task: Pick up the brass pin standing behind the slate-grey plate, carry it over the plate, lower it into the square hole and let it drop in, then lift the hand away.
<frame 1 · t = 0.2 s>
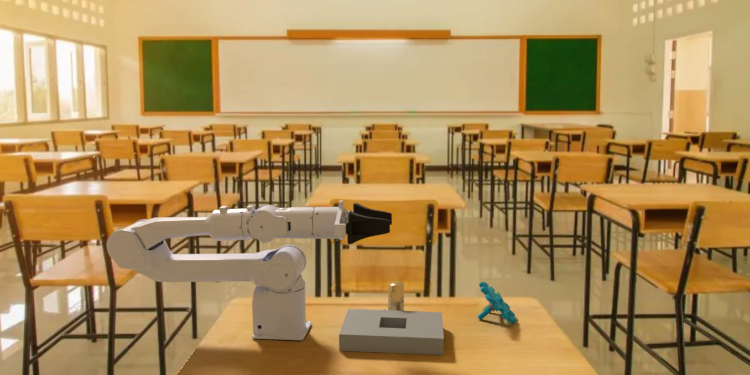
hand: (390, 222, 105), 21 cm above the table, tool horizontal, fingers open, 7 cm apart
hole plate: (392, 338, 107), on the table
brass pin: (395, 317, 117), on the table
teal knobby piece: (496, 320, 116), on the table
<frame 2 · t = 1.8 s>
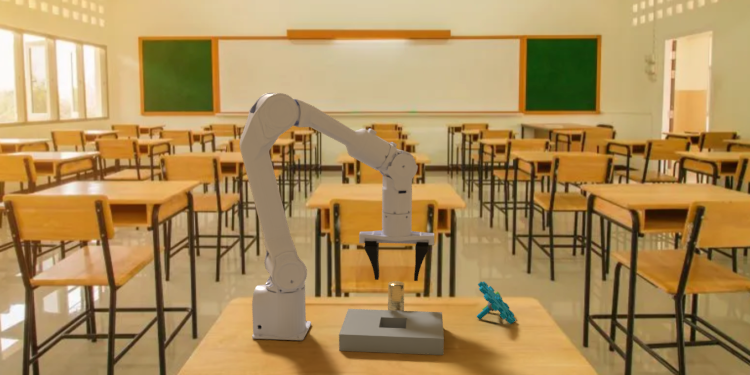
hand: (396, 278, 116), 8 cm above the table, tool pointing down, fingers open, 7 cm apart
nothing on the table moved.
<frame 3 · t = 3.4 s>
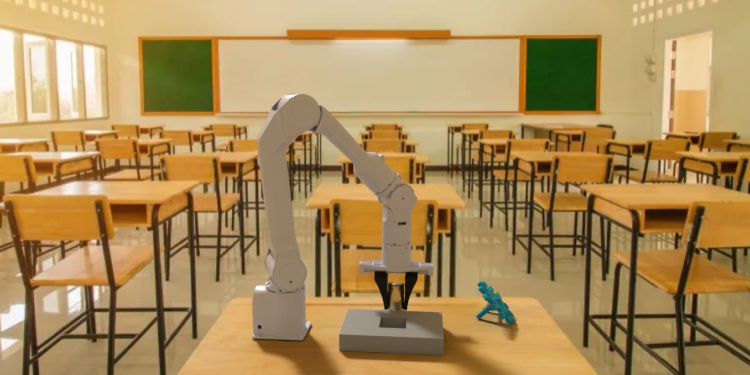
hand: (395, 308, 117), 2 cm above the table, tool pointing down, fingers closed on brass pin, 3 cm apart
brass pin: (395, 317, 117), on the table, touching gripper
everything else where it was.
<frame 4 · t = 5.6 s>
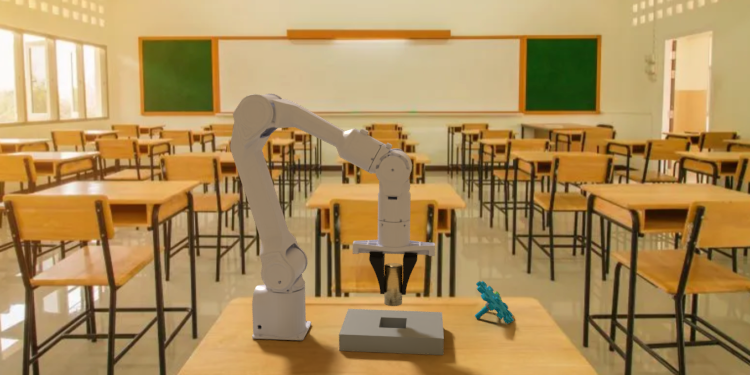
hand: (393, 292, 106), 9 cm above the table, tool pointing down, fingers closed on brass pin, 3 cm apart
brass pin: (393, 303, 106), point 7 cm above the table, touching gripper
everything else where it was.
when the fingers open (4 cm above the table, at t = 7.7 s): brass pin drops 2 cm, resting in hole plate.
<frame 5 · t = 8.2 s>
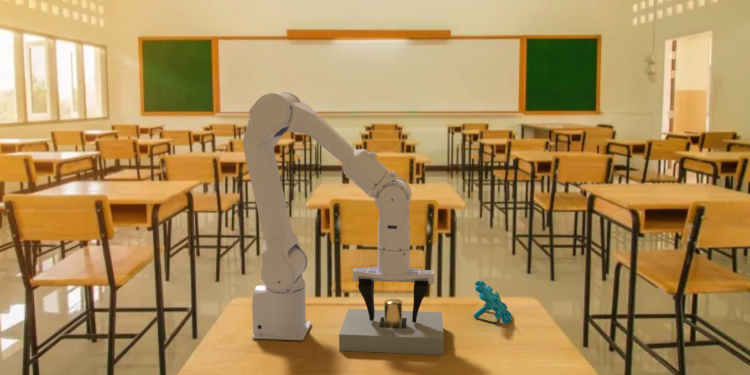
hand: (393, 319, 107), 4 cm above the table, tool pointing down, fingers open, 7 cm apart
brass pin: (392, 338, 107), resting in hole plate
everything else where it was.
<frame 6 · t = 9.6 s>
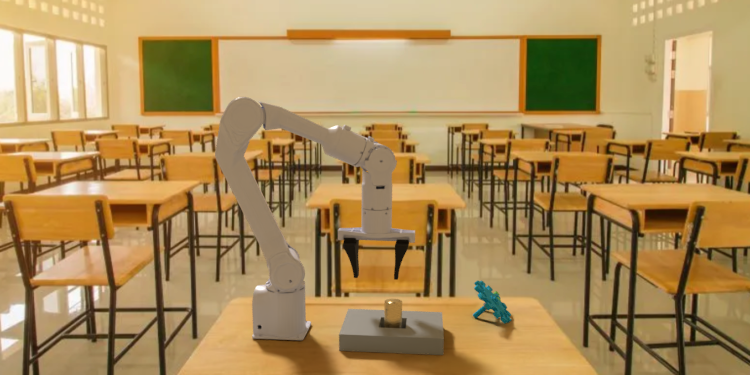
hand: (376, 277, 112), 9 cm above the table, tool pointing down, fingers open, 7 cm apart
nothing on the table moved.
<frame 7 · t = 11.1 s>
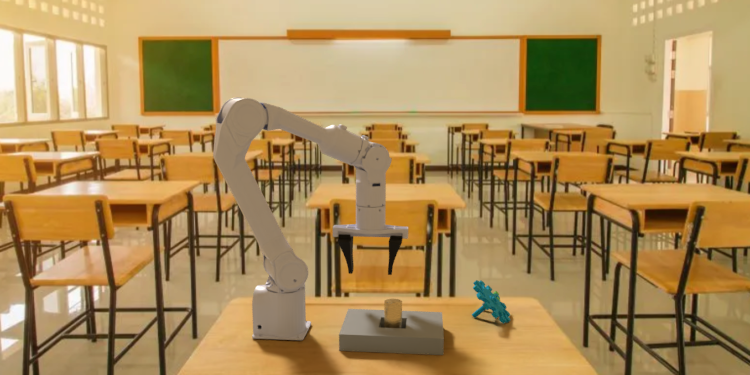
hand: (370, 272, 115), 9 cm above the table, tool pointing down, fingers open, 7 cm apart
at the end: brass pin 0.0 cm off-centre on the hole plate, point 0.0 cm above the hole plate's base; brass pin tilted 0°; the gripper is holding nothing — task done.
